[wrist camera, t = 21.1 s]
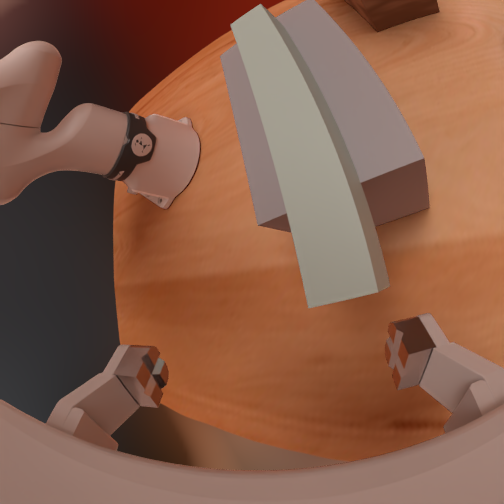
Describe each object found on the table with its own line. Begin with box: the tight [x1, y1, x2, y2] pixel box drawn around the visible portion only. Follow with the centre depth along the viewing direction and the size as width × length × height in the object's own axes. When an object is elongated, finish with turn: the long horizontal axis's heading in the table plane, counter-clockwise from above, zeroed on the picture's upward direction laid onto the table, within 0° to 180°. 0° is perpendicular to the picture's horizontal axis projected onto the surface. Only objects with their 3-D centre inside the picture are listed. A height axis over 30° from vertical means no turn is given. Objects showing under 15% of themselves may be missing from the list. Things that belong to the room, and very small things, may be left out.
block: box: [220, 0, 430, 232], centre depth 23 cm, size 20×12×14 cm, turn 13°
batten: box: [231, 4, 390, 308], centre depth 15 cm, size 24×4×4 cm, turn 13°
